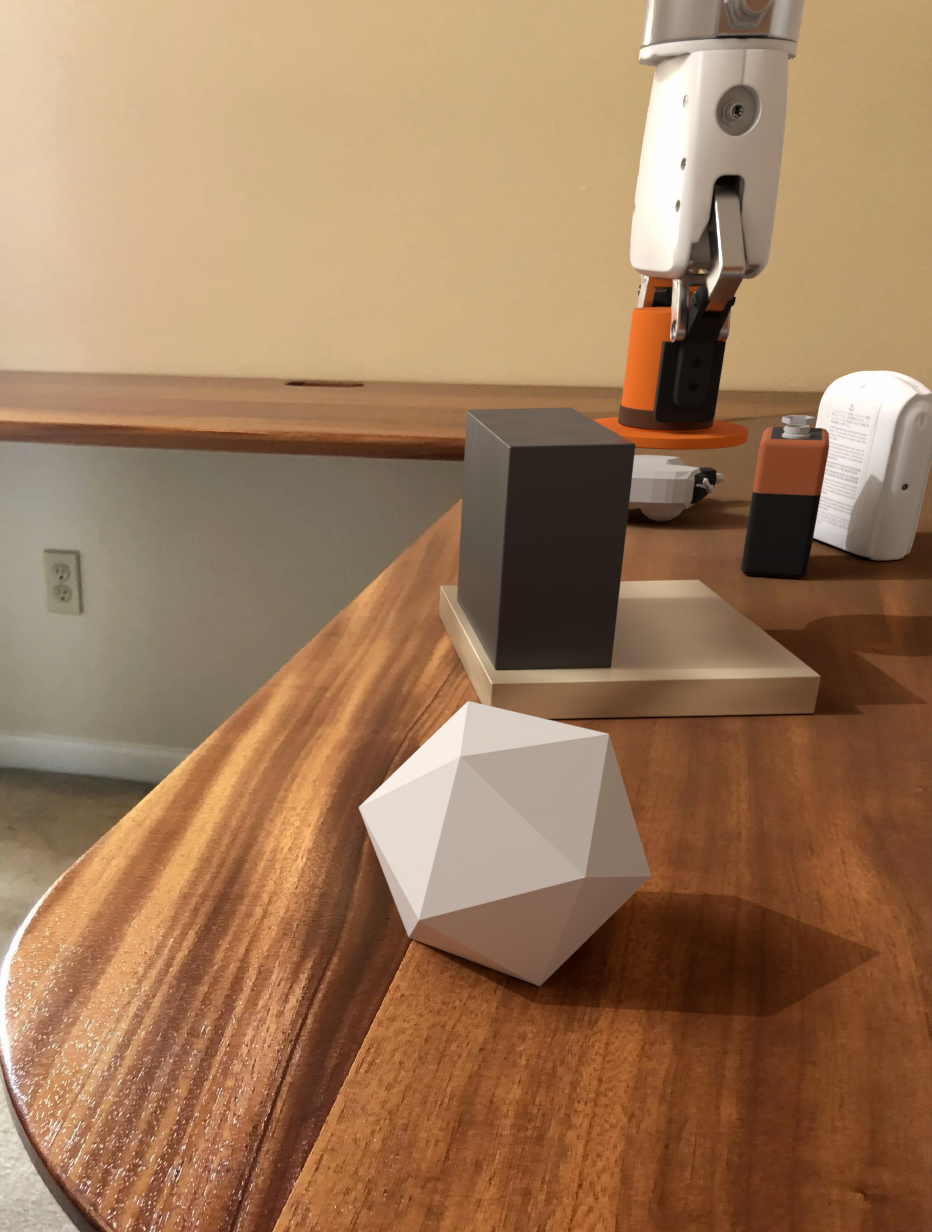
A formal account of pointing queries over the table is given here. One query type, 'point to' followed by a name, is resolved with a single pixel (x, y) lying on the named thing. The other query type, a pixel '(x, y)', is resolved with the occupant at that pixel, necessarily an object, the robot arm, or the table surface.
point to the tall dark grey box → (543, 536)
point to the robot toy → (668, 485)
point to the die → (507, 839)
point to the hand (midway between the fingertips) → (667, 410)
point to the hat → (641, 390)
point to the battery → (785, 499)
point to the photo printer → (874, 463)
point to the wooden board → (651, 662)
